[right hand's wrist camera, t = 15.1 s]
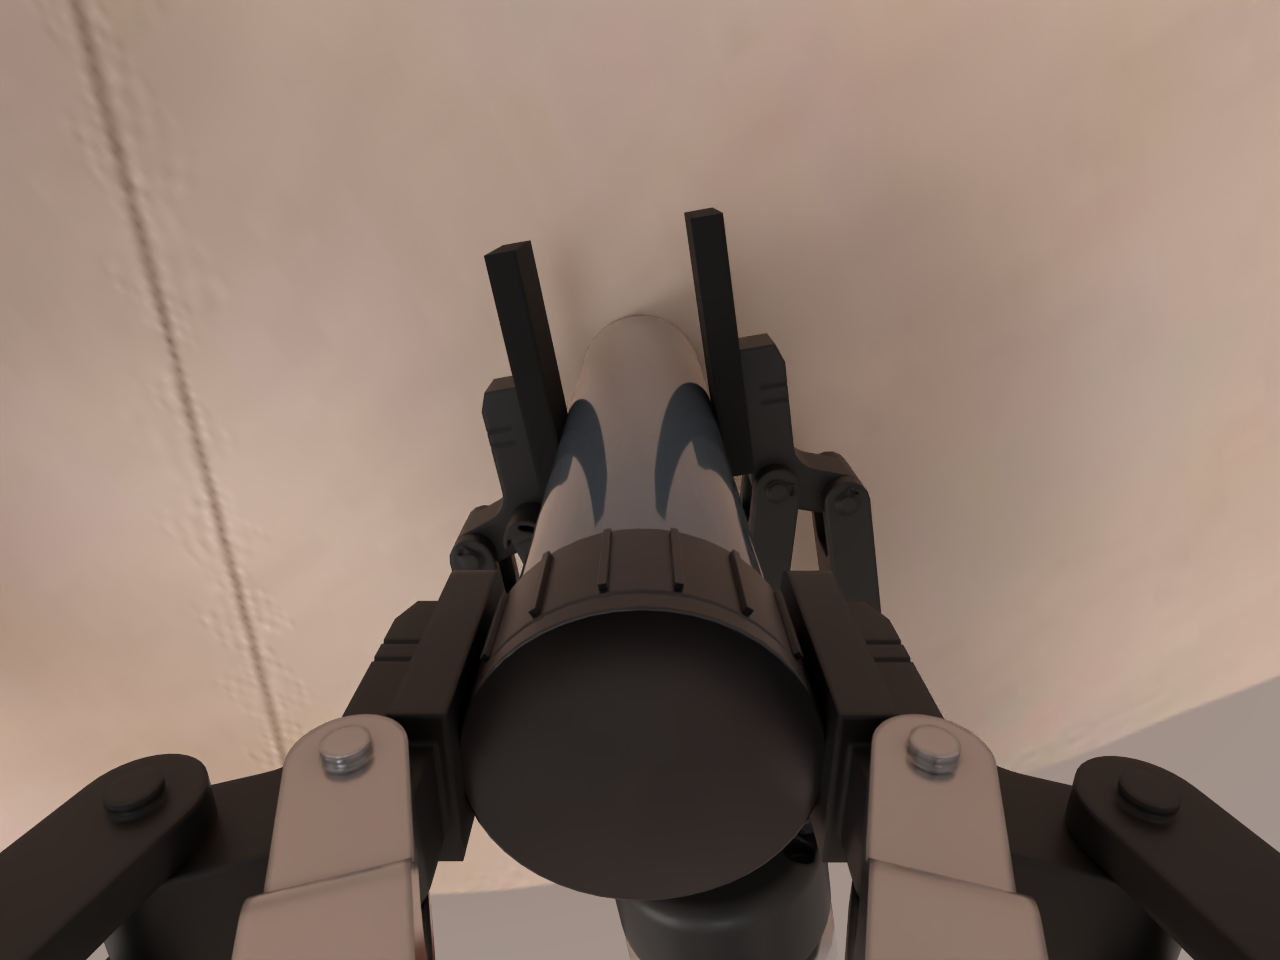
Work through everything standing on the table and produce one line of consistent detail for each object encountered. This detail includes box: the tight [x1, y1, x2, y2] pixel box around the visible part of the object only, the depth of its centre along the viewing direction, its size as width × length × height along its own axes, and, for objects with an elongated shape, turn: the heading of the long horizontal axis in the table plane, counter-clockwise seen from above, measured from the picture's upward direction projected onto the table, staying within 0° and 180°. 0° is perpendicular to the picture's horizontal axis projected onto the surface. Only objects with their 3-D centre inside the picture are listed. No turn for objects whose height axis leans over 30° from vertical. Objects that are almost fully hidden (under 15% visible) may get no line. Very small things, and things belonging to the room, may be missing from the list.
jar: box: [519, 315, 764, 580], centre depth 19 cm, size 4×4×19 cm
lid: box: [459, 528, 826, 900], centre depth 10 cm, size 5×5×2 cm
